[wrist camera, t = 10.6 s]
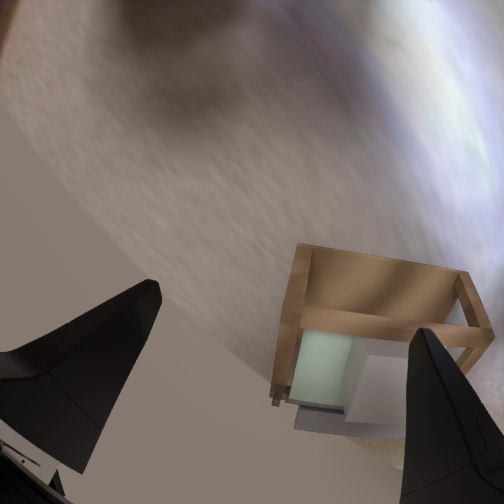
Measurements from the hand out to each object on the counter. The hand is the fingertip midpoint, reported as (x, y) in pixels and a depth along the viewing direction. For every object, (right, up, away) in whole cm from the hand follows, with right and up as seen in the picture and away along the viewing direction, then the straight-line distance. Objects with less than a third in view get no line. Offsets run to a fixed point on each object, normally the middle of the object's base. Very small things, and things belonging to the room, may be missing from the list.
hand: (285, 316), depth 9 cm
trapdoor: (+8, -8, +11) cm, 16 cm away
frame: (+10, -3, +15) cm, 18 cm away
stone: (+8, -5, +10) cm, 14 cm away
